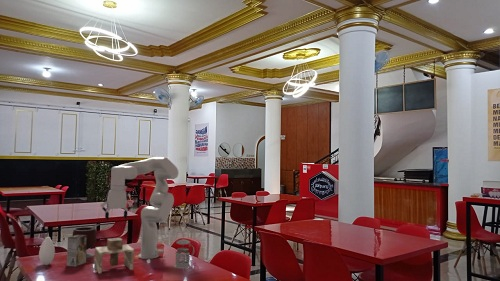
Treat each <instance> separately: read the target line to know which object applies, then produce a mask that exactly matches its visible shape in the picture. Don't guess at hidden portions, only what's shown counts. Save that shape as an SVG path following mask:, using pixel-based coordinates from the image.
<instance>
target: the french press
mask: <svg viewBox="0 0 500 281" xmlns="http://www.w3.org/2000/svg"><path fill="white" fill-rule="evenodd" d="M182 226H186V222H182ZM184 234H185V231H183V236H182V237H183V239H179V240H177V241H176V244H178V245H181V246H185V245H188V247H189V248H191V247H192V249H193V251H192V253H191V255H190V249H189V248H187V247H179V248H178V247H177V249H176V251H175V264H174V266H173V268H175V269H188V267H189V268H191V267H190V265H191V264H190V261H191V260H190V259H191V258H192V257H193V256H194V254H195V247H194V246H193V245H192V244H191V241H189V240H187V239H184V238H185V237H184V236H185V235H184Z"/></svg>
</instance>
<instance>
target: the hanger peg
mask: <svg viewBox="0 0 500 281" xmlns="http://www.w3.org/2000/svg"><path fill="white" fill-rule="evenodd" d="M106 240H107V242H106V246H107V248H108V249H109V250H118V249H122V248H123V245H124V244H123V243H124V240H123V239H122V238H121V237H113V238H107V239H106ZM109 256H110V258H109V266H111V267H114V266H118V265H119V253H110V254H109Z"/></svg>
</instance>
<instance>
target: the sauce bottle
mask: <svg viewBox="0 0 500 281" xmlns="http://www.w3.org/2000/svg"><path fill="white" fill-rule="evenodd" d="M55 254H56V250H55V245H54V242H53V240H52V239H51V237H50V236H49V233H47V237H45V239H44V240H43V241H42V243H41V245H40V247H39V252H38V258H39V261H40V263H41V264H43V265H44V266H48V265H50V263H53V260H54V257H55Z"/></svg>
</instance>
